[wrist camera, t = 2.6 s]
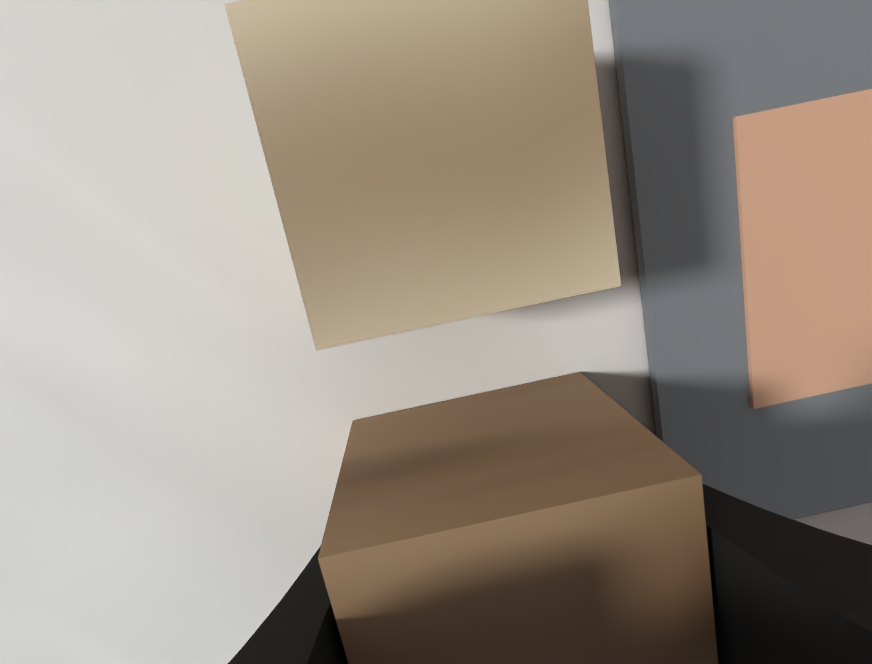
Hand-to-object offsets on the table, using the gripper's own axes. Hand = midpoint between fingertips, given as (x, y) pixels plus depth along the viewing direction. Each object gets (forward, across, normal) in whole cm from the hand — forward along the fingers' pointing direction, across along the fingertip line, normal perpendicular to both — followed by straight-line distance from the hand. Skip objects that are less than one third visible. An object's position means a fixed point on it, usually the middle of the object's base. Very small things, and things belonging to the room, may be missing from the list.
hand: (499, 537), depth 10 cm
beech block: (+2, 0, -7) cm, 7 cm away
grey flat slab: (+1, -9, -4) cm, 10 cm away
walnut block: (+1, 0, 0) cm, 1 cm away
